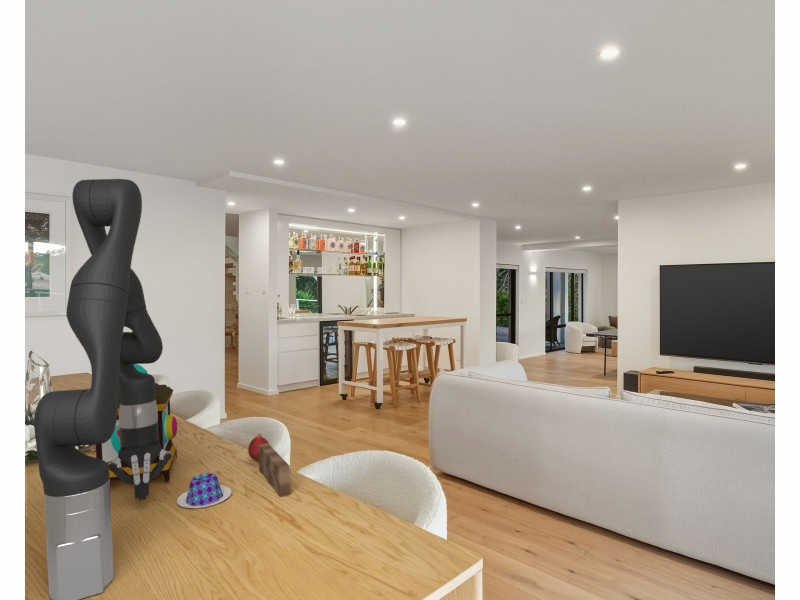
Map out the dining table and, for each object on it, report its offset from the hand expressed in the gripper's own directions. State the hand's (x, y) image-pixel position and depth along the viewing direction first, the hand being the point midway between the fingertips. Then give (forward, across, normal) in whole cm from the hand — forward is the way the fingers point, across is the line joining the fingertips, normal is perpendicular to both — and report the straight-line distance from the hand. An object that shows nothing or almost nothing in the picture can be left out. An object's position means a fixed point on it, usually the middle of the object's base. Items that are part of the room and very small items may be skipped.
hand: (142, 498), depth 108 cm
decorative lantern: (+3, 0, +24) cm, 24 cm away
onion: (+3, +30, +16) cm, 34 cm away
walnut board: (+3, +29, 0) cm, 30 cm away
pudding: (+4, +13, 0) cm, 13 cm away
